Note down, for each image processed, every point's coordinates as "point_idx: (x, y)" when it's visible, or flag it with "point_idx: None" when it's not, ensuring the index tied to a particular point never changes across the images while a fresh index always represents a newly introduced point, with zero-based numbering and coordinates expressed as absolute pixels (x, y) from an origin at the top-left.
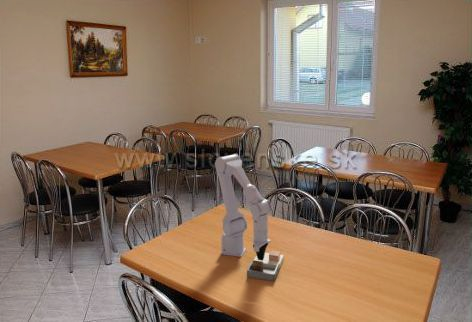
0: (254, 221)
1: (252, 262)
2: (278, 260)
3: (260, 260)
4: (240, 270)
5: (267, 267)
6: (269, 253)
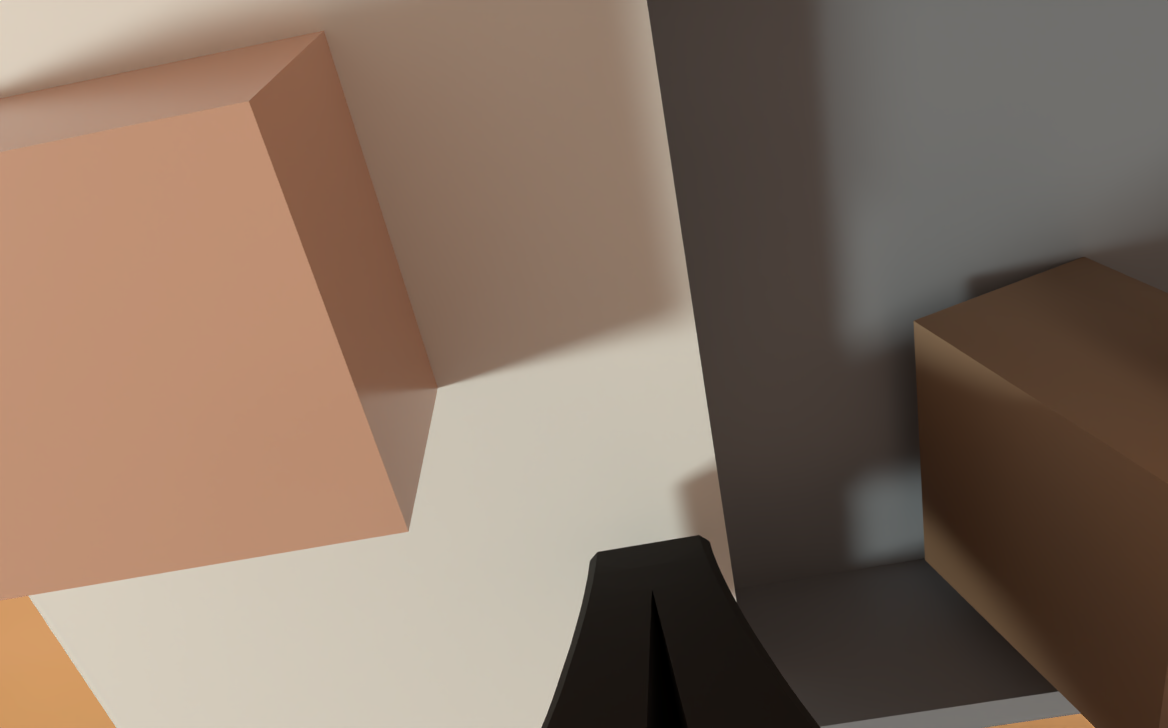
0: None
1: (951, 710)
2: (277, 44)
3: None
4: None
5: None
6: None
